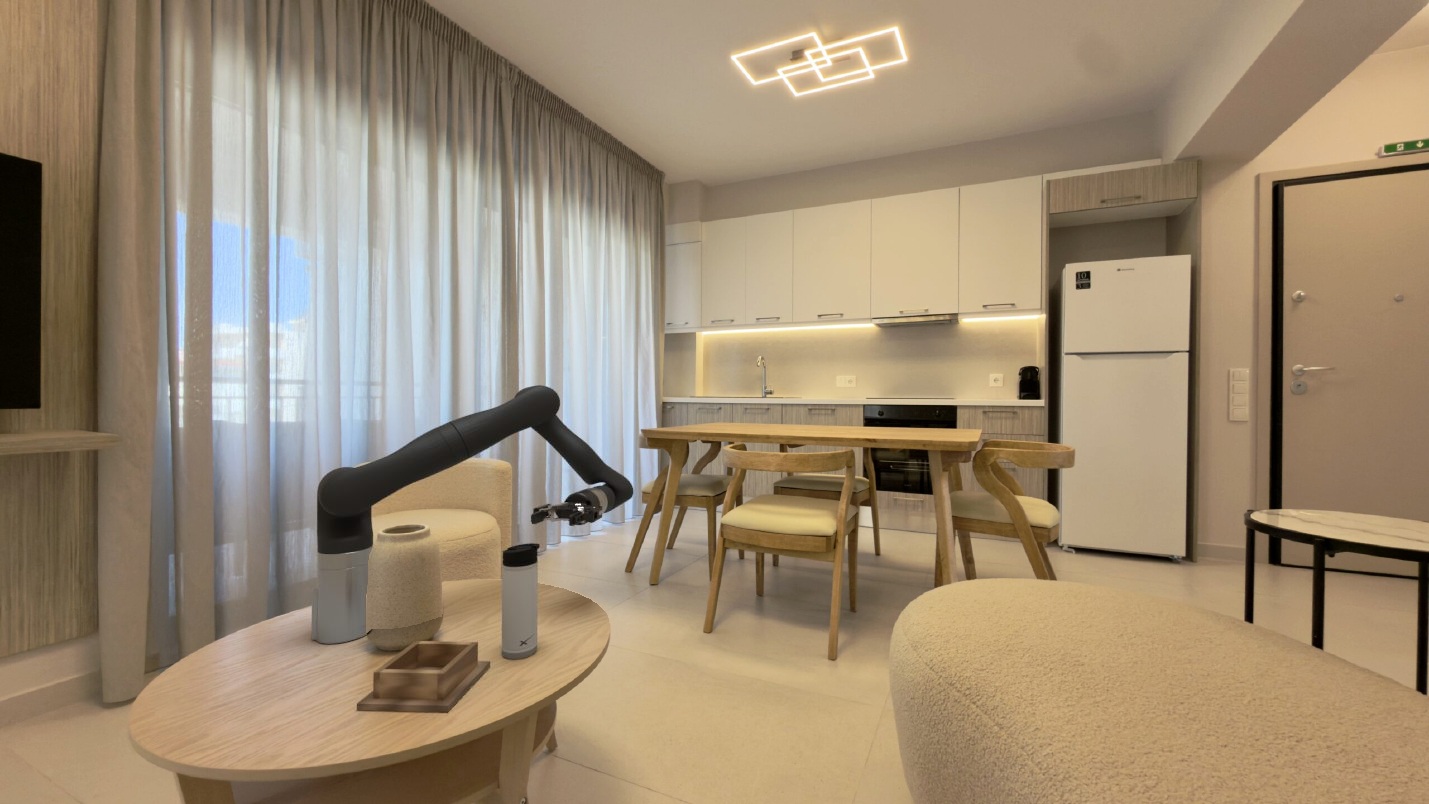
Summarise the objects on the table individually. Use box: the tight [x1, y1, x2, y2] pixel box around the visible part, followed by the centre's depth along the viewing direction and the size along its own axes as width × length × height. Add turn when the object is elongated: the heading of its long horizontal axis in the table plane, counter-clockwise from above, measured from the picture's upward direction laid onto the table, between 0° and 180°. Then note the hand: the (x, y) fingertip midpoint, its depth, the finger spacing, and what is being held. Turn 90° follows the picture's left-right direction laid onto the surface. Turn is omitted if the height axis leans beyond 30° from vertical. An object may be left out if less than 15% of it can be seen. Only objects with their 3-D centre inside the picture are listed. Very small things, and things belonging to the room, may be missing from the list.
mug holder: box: [356, 640, 491, 713], centre depth 88 cm, size 14×14×5 cm
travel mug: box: [501, 542, 540, 660], centre depth 100 cm, size 6×7×20 cm
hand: (551, 520), depth 111 cm, fingers open, 8 cm apart
